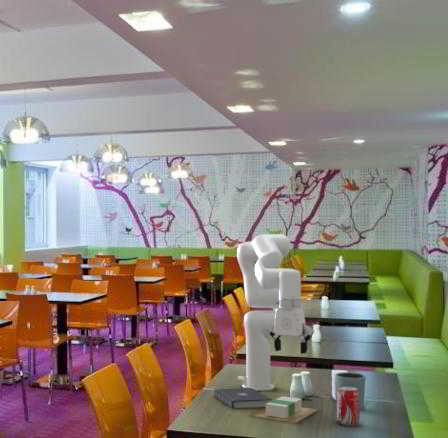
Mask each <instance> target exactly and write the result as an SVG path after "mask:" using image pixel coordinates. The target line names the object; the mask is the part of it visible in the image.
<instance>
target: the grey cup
mask: <svg viewBox="0 0 448 438" xmlns="http://www.w3.org/2000/svg"><path fill="white" fill-rule="evenodd" d="M366 378H367V376H366V375H365V374H363V373H359V372H352V371H351V372H350V371H348V372H343V373H337V374H336V380H337V392H338V390H339V387H343V386H347V387H354V388H357V391H358V393H359V411H363V410H364V407H365V392H366Z"/></svg>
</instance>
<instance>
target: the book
mask: <svg viewBox="0 0 448 438" xmlns="http://www.w3.org/2000/svg"><path fill="white" fill-rule="evenodd" d="M213 394H214V397H215V398H216V399H218V400H219V401H220V402H222V403H224V404H225V405H226V406H227V407H229V408H231V409H233V410H236V409H237V410H239V409H241V410H242V409H243V410H244V409H265V408H266V404H267V403H269V401H273V399H272V398H270V397H269V396H267V395H265V394H263V393H261V391H256V390H254V389H252V388H243V387H234V388H233V387H231V388H230V387H229V388H214V392H213Z"/></svg>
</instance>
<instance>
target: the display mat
mask: <svg viewBox="0 0 448 438" xmlns="http://www.w3.org/2000/svg"><path fill="white" fill-rule="evenodd" d="M317 411H318V409H316V408H308V407H302V410H301V411H299V412H297V413H295V414H293V415H291V416H290V417H287V418H279V417H272V416H266V408H262V409H261V410H259V411H257V412H255V413H252V414H251V416H253V417H259V418H266V419H272V420H278V421H285V422H291V423H298V422H300V421H301V420H303V419H305V418H307V417H308V416H310V415H312V414H313V413H315V412H317Z"/></svg>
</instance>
